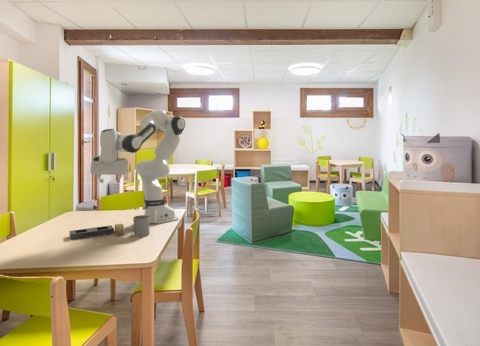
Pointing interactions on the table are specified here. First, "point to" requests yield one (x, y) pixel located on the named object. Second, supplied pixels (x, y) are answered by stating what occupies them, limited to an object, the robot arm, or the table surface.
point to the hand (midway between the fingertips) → (110, 182)
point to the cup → (141, 225)
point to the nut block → (119, 230)
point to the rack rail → (91, 232)
